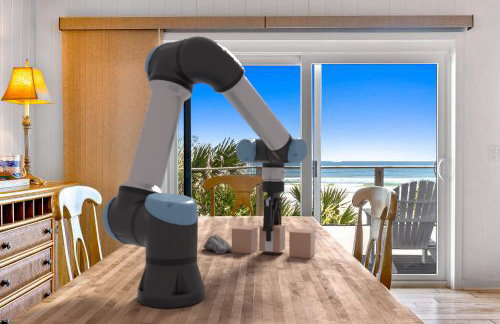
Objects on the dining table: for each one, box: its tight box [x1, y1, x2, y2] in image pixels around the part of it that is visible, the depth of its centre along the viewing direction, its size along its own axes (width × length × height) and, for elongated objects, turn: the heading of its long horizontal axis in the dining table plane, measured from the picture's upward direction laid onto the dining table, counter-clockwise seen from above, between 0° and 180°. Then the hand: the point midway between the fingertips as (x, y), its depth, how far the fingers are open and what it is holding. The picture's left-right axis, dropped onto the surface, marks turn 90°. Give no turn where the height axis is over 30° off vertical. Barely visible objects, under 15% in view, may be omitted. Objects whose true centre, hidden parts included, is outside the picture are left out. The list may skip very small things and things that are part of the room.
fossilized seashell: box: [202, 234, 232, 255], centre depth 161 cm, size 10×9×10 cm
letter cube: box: [264, 251, 280, 256], centre depth 157 cm, size 4×4×4 cm
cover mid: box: [258, 224, 286, 254], centre depth 157 cm, size 7×7×8 cm
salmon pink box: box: [288, 228, 316, 259], centre depth 154 cm, size 7×7×8 cm
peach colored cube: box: [231, 225, 259, 255], centre depth 160 cm, size 7×7×8 cm
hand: (272, 248), depth 157 cm, fingers closed on cover mid, 7 cm apart
